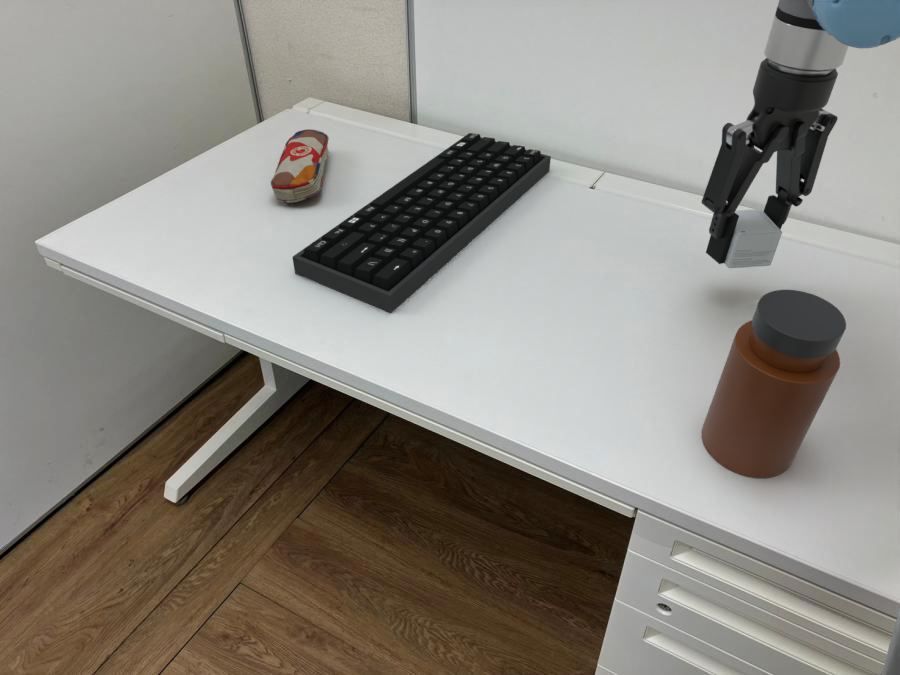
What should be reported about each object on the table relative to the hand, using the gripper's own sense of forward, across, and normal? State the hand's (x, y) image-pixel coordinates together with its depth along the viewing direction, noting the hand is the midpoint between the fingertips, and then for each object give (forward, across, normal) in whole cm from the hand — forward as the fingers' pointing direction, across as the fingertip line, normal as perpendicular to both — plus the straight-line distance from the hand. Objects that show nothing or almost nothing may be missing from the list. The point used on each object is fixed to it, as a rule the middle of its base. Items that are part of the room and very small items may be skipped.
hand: (739, 251), depth 87 cm
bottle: (+7, +14, +22) cm, 27 cm away
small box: (+1, 0, 0) cm, 1 cm away
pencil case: (+7, +45, -50) cm, 68 cm away
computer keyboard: (+7, +29, -31) cm, 43 cm away
